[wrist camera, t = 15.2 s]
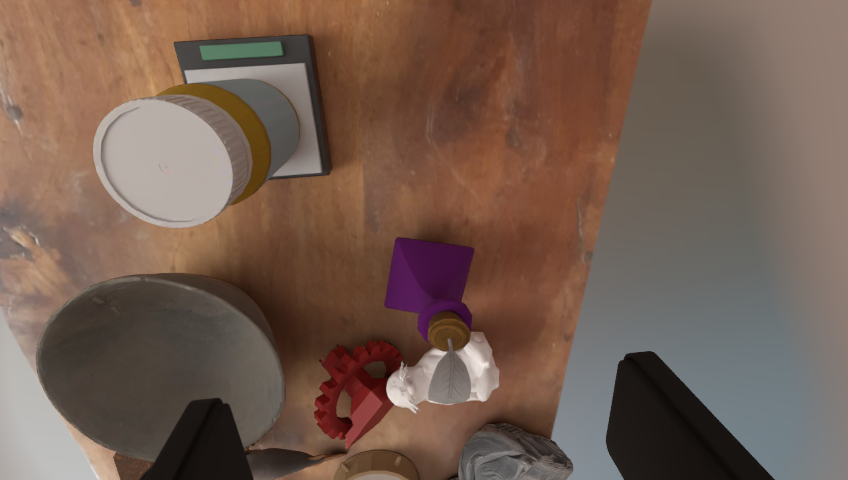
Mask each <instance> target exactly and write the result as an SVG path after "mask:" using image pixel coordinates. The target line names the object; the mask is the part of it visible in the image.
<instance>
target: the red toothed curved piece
mask: <svg viewBox="0 0 848 480" xmlns="http://www.w3.org/2000/svg"><path fill="white" fill-rule="evenodd" d="M337 346H338V347H339V348H337V349H334V350H332V351H331V352H330V354H329V355H328V356H327V358H326V359H325V360H324V362H323V361H322V360H321V359H320V360H319V361H320V362H321V363H322V365H323V366H324V368H325V369H326V370H327V371H328V372H329V374H330V375H331V377H332V378H331V380H330V381H326V382H322V384H321V386H320V388H319V389H320V390H321V391H322V392H323V393H324V394H323V395H321V396H319V397H317V398H316V400H315V405H316V406H317V407H318V410H317V411H315V412H314V417H315V419H316V420H317V421H318V423H317V425H318V426H319V427H320V428H321V430H322V431H323V432H324V433H325V434H327V435H328V436H329V437H330V438H332V439H335V438H336V437H337V436H338V438H339V439H340V440H343V439H346V438H347V439H346V441H345V442H346V444H347V445H346V446H345V448H346V449H348V448H349V447H350V446H351V445H353V444H354V443H355V442H356V441H357V440H359V439H360V438H361V437H362V436H363V435H365V434H366V433H367V432H368V431H369V430H371V429H372V428H373V427H374V426H375V425H377V424H378V423H379V422H380V421H381V420H382V418H383V417H384V416H385V415H386V413H387V412H388V411H389V410H390V409H391V407H392V406H393V405H394V404H393V403H392V402H391V400H390V399H389V398H388V395H387V391H386V386H387V382H388V379H389V377H390V376H391V375H392V374H393V373H394V372H395V371H397V370H398V369H400V367H401V364H402V366H403V368H404V365H403V363H401V361H402V360H403V356H402V355H401V354H400V353H399V352H398V351H399V350H398V349H396V348H395V347H394V346H392V345H391V344H390V343H389V344H388V343H386V342H385V341H383V340H380V341H379V342H378V343H376V342H374V341H369V342H368V343H367V345H366V347H365V349H364V348H363V347H362V346H361V345H359V346H357V347H355V348H354V353H353V356H352V355H351V354H350V353H349V352H348V351H347V350H346V349H345V348H344V347H343V346H342V347H340V346H339V345H338V344H337ZM375 361H384V363H385V366H386V373H385V378H372V377H371V375H369V374H368V373H367V372H366V370H365V369H364V368H363V367H364V366H365V365H367V364H369V363H372V362H375ZM343 389H344V390H345V391H346V392H347V393H348V394H349V396H350V397H351V398H352V402H351V417H350V418H351V419H350V418H349V417H344V418H342V417H337V414H336V406H337V401H338V398H339V396H340V393H341V391H342V390H343ZM343 392H344V391H343ZM344 394H345V393H344Z"/></svg>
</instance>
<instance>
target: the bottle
mask: <svg viewBox="0 0 848 480" xmlns="http://www.w3.org/2000/svg"><path fill="white" fill-rule="evenodd" d="M299 139H300V123H299V119H298V116H297V112H296V110H295V108H294V107H293V105H292V104H291V102H290V100H289V99H288V98H287V97H286V96H285V95H284V94H283V93H282V92H281V91H280V90H279V89H277V88H276V87H274V86H272V85H270V84H268V83H266V82H264V81H261V80H255V79H247V78H242V79H231V80H220V81H208V82H197V83H189V84H184V85H178V86H174V87H171V88H168V89H166V90H165V91H163V92H161V93H160V94H158V95H157V96H153V97H146V98H139V99H135V100H131V101H130V102H125V103H123V105H120V106H118V107H117V108H116V109H114V110H112V111H111V112H110V113H109V114H108V115H107V116H106V117H105V118H104V119H103V121H102V122H101V124H100V125H99V127H98V129H97V132H96V135H95V138H94V145H93V156H94V162H95V166H96V170H97V173H98V175H99V177H100V179H101V181H102V183H103V185H104V187H105V188H106V190H107V191H108V192H109V194H110V195H111V196H112V197H113V198H114V199H115V200H116V201H117V202H118V203H119V204H120V205H121V206H122V207H123V208H124V209H126V210H127V211H128V212H130V213H131V214H133V215H135V216H136V217H138V218H140V219H142V220H144V221H146V222H149V223H152V224H155V225H158V226H163V227H169V228H187V227H193V226H196V225H200V224H202V223H206V222H207V221H208V220H212V219H213V218H214V217H216V216H218V215H219V214H220V213H221V212H222V211H223V210H224V209H226V208H227V207H228V206H229V205H234V204H237V203H239V202H241V201H243V200H244V199H246V198H248V197H249V196H251V195H252V194H254V193H255V192H256V191H257V190H258V189H259V188H260V187H261V186H262V185H263V184H264V183H265V182H266V181H267V180H268V179H269V178H270V177H271V176H272V175H273V174H274V173H275V172H277V171H278V170H279V169H280V168H281V167H282V166H283V165H284V164H285V163H286V162H287V161H288V159H289V158H290V157H291V156H292V155H293V153H294V152H295V150H296V148H297V145H298V142H299Z"/></svg>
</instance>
